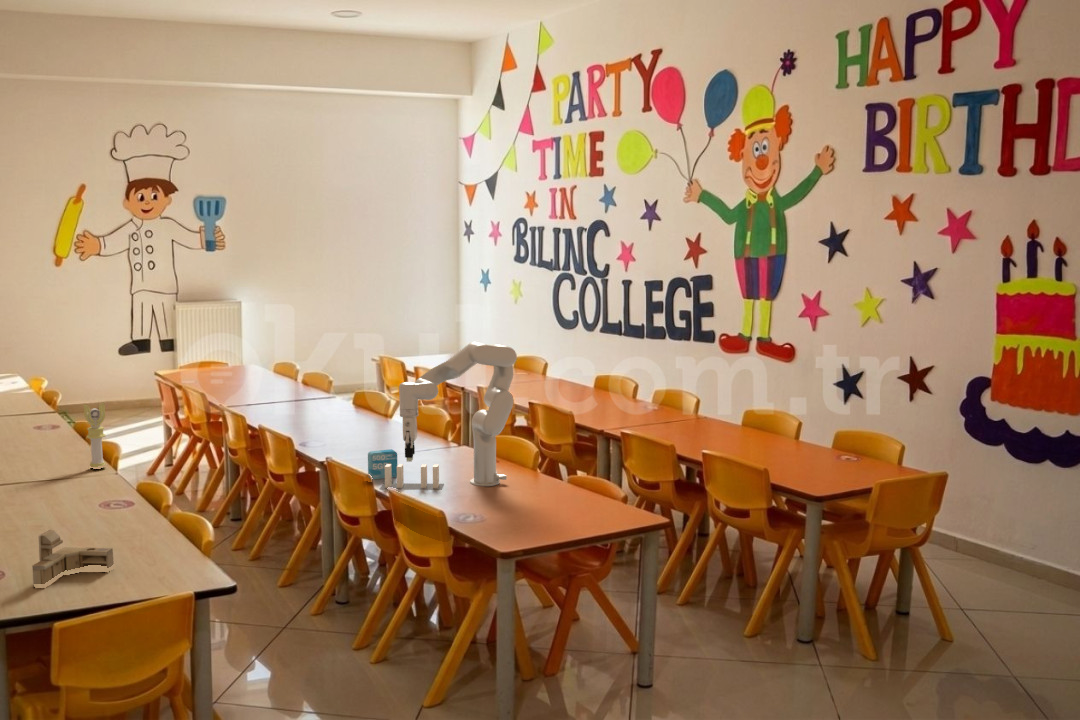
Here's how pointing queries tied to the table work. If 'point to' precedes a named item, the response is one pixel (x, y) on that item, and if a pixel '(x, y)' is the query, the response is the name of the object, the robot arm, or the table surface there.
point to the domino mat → (413, 487)
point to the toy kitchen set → (65, 558)
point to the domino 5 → (435, 475)
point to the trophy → (95, 432)
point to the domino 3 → (412, 457)
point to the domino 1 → (388, 476)
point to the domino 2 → (400, 476)
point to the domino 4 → (424, 476)
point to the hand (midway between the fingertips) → (409, 455)
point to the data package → (381, 463)
